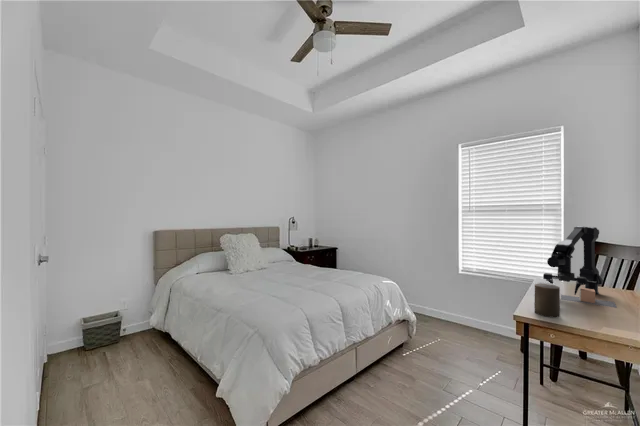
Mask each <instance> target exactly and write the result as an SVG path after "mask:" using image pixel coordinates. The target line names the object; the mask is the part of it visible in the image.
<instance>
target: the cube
mask: <svg viewBox="0 0 640 426" xmlns="http://www.w3.org/2000/svg"><path fill="white" fill-rule="evenodd" d="M578 297H579V298H580V301H584V302H591V303H595V299H596V294H595V290H594V289H586V288H585V287H579V296H578Z"/></svg>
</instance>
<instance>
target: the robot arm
mask: <svg viewBox="0 0 640 426" xmlns="http://www.w3.org/2000/svg"><path fill="white" fill-rule="evenodd" d="M599 234H600V229H598V228H597V227H594V226H593V227H592V226H583V225H579V226H578V225H576V226H574V227H573V230H572V231H571V232H570V233H569V234H568V235H567V237H566V238H565V239H564V240H561V241H559V242H558V243H557V244H555V246H554V248H553V251H552V253H551V255H550V257H548V258H547V261H546V262H547V265H548V266H549V267H551V268H557V275H553V273H549V272H545V273H543V280H545V282H548V283H552V284H555V283H554V279H556V280H558V281H560V282H567V283H569V282H575V287H574V296H576V294H577V293H578V291H579V289H580V288H581V286H584V288H586V289H594V290H595V295H600V292H599V285H600V286H601V285H602V284H604V279H603V278H602V277H601V275H600V272H599V269H598V268H597V267H596V253H595V252H596V251H595V250H596V249H595V244H596V243H595V242H596V241H597V240H598V239H599ZM580 239H581V241H582V242H583V266H582V267H581V268H579V276H576V275H575V274H576V273H574V272H572V259H573V258H574V257H573V255H572V254H573V253H574V251H576V249H575V245H576V244H577V243H578V242H579V241H580ZM575 276H576V277H575Z"/></svg>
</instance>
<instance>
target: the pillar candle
mask: <svg viewBox="0 0 640 426" xmlns="http://www.w3.org/2000/svg"><path fill="white" fill-rule="evenodd" d="M555 285H556V284H555ZM555 285H549V284H537V283H535V284H534V302H533V304H534V313H535V314H537V315H540V316H542V317H548V318H559V317H561V314H560V312H561V308H560V307H561V306H560V305H561V302H560V301H561V293H560V291H561V289H560V286H557V285H556V286H555Z"/></svg>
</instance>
